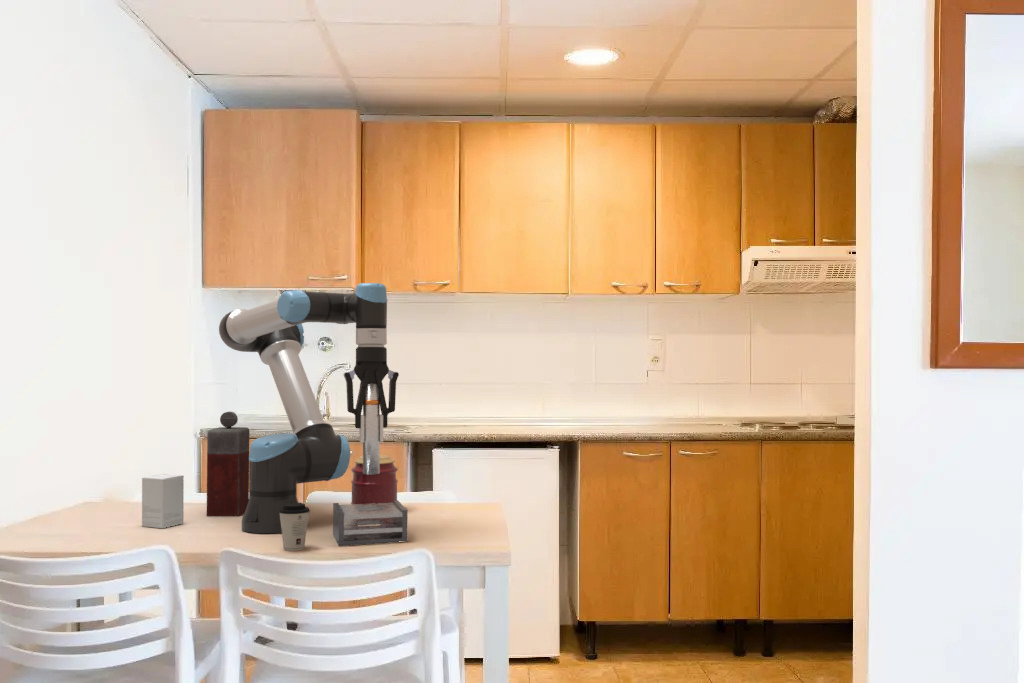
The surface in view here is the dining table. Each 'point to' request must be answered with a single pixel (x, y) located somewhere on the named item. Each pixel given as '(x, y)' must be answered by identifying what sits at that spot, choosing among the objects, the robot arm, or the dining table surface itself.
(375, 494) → the canister
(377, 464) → the tube
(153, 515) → the supplement box
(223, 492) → the square decanter
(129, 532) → the dining table surface
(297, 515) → the coffee cup
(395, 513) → the collar stand
